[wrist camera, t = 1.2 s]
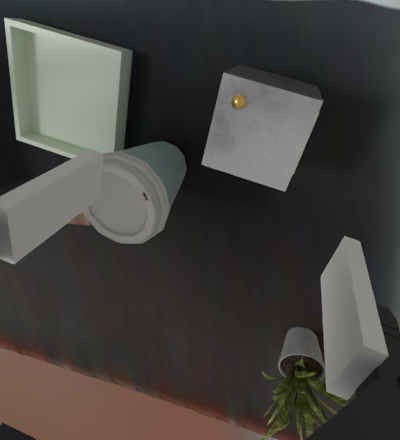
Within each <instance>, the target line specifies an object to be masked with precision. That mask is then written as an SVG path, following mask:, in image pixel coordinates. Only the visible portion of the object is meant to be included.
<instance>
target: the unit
mask: <svg viewBox="0 0 400 440" xmlns="http://www.w3.org/2000/svg"><path fill="white" fill-rule="evenodd" d="M322 103H323V99H322V96H321V93H320V91H319V88H318V86H317V85H313V84H310V83H306V82H303V81H299V80H296V79H292V78H288V77H285V76H281V75H278V74H274V73H271V72H267V71H264V70H260V69H257V68H253V67H249V66H246V65H242V64H240V65H238V66H236V67H234V68H232V69H230V70H228V71H226V72H224V73H223V77H222V81H221V85H220V89H219V93H218V98H217V102H216V106H215V110H214V114H213V118H212V122H211V127H210V131H209V135H208V139H207V143H206V147H205V151H204V156H203V160H202V164H201V165H204V166H207V167H210V168H213V169H216V170H219V171H222V172H226V173H229V174H232V175H235V176H238V177H241V178H244V179H247V180H250V181H253V182H257V183H260V184H263V185H266V186H269V187H272V188H275V189H278V190H281V191H284V192H285V191H286V189H287V186H288V184H289V182H290V179H291V177H292V174H294V172H295V169H296V167H297V165H298V162H299V160H300V158H301V155H302V153H303V150H304V148H305V146H306V143H307V141H308V139H309V136H310V134H311V131H312V129H313V127H314V124H315V122H316V120H317V117H318V115H319V110H320V108H321V105H322Z"/></svg>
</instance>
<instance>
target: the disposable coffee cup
mask: <svg viewBox="0 0 400 440" xmlns="http://www.w3.org/2000/svg"><path fill="white" fill-rule="evenodd" d="M186 170H187V167H186V162H185V157H184V155H183V154H182V153H181V151H180V150H179V149H178V148H177V147H176V146H174V145H172V144H170V143H168V142H165V141H160V142H152V143H148V144H145V145H141V146H137V147H133V148H130V149H126V150H122V151H117V152H109V153H103V171H102V189H101V198H99V199H98V200H97V201H95V202H94V203H93V204H91V205H90V206H89V207H88V208H86V209H85V210H84V211H83V213H84V216H85V218H86V219H87V220H88V221H89V222H90V223H91V224H92V225H93V226H94V227H95V229H96V230H97V231H98V232H99V233H100V234H102V235H104V236H106V237H108V238H110V239H112V240H114V241H116V242H118V243H134V244H138V243H144V242H145V241H147V240H148V239H150V238H151V237H153V236H154V235H156V234H157V233H159V232H160V231H161V230H163V229H164V226H165V223H166V220H167V217H168V214H169V211H170V208H171V205H172V203H173V201H174V199H175V197H176V195H177V192H178V190H179V188H180V186H181V184H182V181H183V179H184V176H185V173H186Z"/></svg>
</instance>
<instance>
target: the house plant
mask: <svg viewBox="0 0 400 440" xmlns="http://www.w3.org/2000/svg"><path fill="white" fill-rule="evenodd" d="M278 368H279V370H280V372H281V374H282V375H283V376H284V377H286V379H285V381H284V382H283V383H282V384H280V385H279V386H278V387H276V388H275V390H274V391H273V392H274V393H276V395H274V396H276V397H274V398H273V399H272V400H274V401H275V402H274V403H273V405H272V406H271V407H270V408H269V410H268V411H267V412H266V413H265V415H266V414H267V413H268V412H269V411H270V410H271V409H272V408H273V407H274V406H275V405H276V403H277V402H278V403H279V404H280V406H279V407H278V408H277V409H276V411H275V412H274V414H273V416H272V417H271V419H270V421H269V422H268V424H269V423H270V422H271V421H272V420H273V419H274V418H275V417H276V415H277V413H278V412H279V410H280V409H281V408H282V406H283V405H284V407H283V409H282V411H281V413H280V415H279V417H278V419H277V420H276V422H275V423H274V424H273V426H272V427H271V428H270V430H269V431H268V433H267V434H266V435H265V436H263V437H262V438H261V440H263V439H266V438H269V437H271V436H272V435H274V434H275V433H276V432H277V431H278V430H282V429H284V428H285V427H286V426H287V425H288V424H289V422H290V421H291V418H292V416H293V413H294V409H295V406H296V422H297V429H298V434H299V437H300V440H302V419H303V412H304V418H305V426H306V434H307V438H308V437H309V436H310V435H311V434H312V433H313V427H312V423H313V424H314V422H315V423H316V424H317V425H318V426H319V427H321V426H320V425H319V424H318V422H317V420H316V419H315V417H314V411H315V413H316V415H317V416H318V418H319V419H320V421H321V422H322V423H323V424H324V423H326V422H327V421H328V419H327V417H326V416H325V414H324V412H323V410H324V409H322V408H321V407H320V405H319V404H318V402H317V400H316V398H315V396H314V394H313V393H312V391H313V390H312V391H311V387H310V385H309V384H311V385H312V386H313V387H314V388H315V389H316V390H317V391H319V392H320V393H321V394H323V395H324V396H326V397H328V398H329V399H331V400H333V401H334V402H336V403H338V404H339V405H341V406H343V407H345V406H346V405H347V404H348V402H347V401H346V400H345V399H343V398H341V397H338V396H336V395H333V394H331V393H328V392H326V385H325V384H323V383H322V382H321V380H322V379H323V378H324V376H325V366H324V362H323V358H322V355H321V351H320V347H319V343H318V339H317V336H316V334H315V333H314V332H313V331H311V330H309V329H307V328H303V327H295V328H292V329H290V330H289V331H288V332H287V335H286V338H285V342H284V345H283V349H282V353H281V356H280V360H279V363H278ZM262 373H263V371H262ZM263 376H264V378H265V379H267V380H270V381H276V380H280V379H283V378H284V377H282V378H273V377H269V376H267V375H265V374H264V373H263ZM295 390H296V397H295V401H294V404H293V407H292V410H291V412H290V415H289V417H288V419H287V420H286V421H285V419H286V417H287V414H288V410H289V408H290V405H291V402H292V399H293V396H294V393H295ZM313 392H314V391H313ZM315 395H316V394H315ZM271 397H273V396H271ZM317 398H318V397H317ZM318 399H319V398H318ZM319 400H320V399H319ZM315 401H316V402H315ZM320 401H321V400H320ZM321 403H322V404H323V405H324V406H325V407H326V408H327V409H329V410H330V411H331V412H332V413H334V414H336V412H335V411H333V410H332V409H330V408H329V407H328V406H327V405H325V404H324V403H323V402H322V401H321ZM321 412H322V414H323V415H324V417H325V418H324V417H323V415H322V414H321ZM265 415H264V416H265ZM264 416H263V417H264ZM326 420H327V421H326ZM284 421H285V423H284ZM283 423H284V424H283ZM268 424H267V425H268ZM282 424H283V425H282Z"/></svg>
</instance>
